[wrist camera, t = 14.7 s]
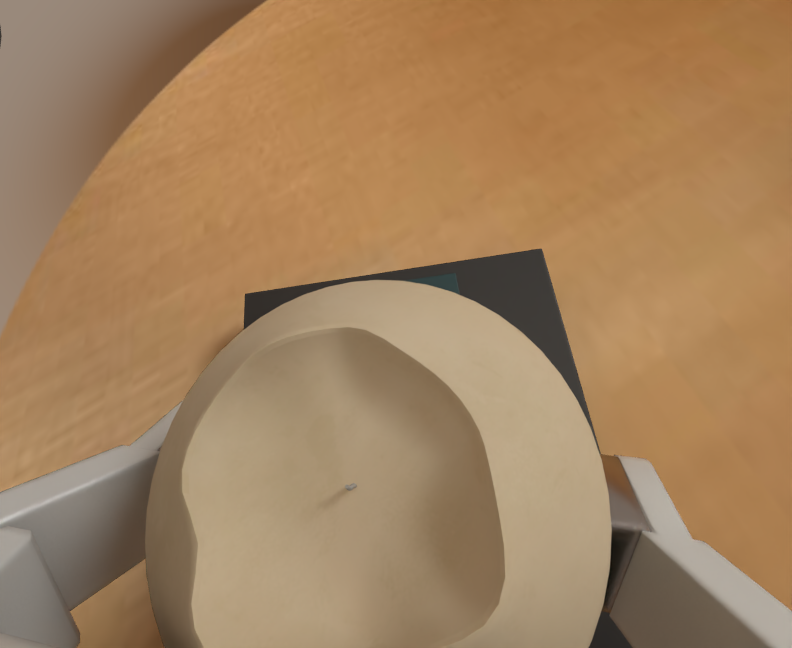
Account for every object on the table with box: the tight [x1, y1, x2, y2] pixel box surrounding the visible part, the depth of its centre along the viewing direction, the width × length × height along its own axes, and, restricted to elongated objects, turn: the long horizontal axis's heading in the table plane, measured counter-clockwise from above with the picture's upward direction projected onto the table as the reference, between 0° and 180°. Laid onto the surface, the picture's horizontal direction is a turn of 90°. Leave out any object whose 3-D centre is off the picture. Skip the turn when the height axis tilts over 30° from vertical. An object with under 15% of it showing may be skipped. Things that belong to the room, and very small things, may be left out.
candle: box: [145, 280, 612, 648], centre depth 8 cm, size 6×6×10 cm
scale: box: [244, 249, 632, 648], centre depth 14 cm, size 12×14×3 cm
